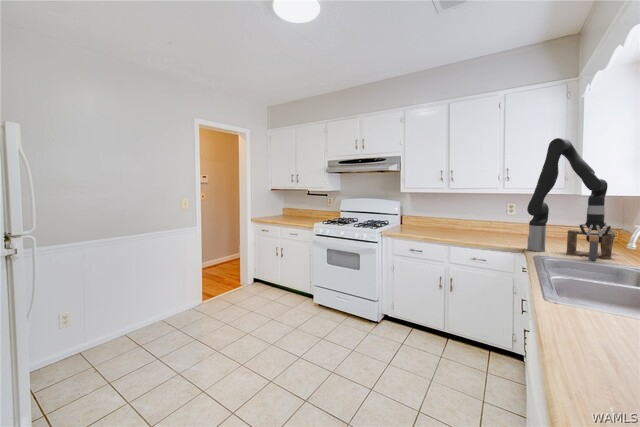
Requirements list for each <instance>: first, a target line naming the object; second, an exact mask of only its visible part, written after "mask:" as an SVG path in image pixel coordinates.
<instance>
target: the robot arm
mask: <svg viewBox="0 0 640 427" xmlns="http://www.w3.org/2000/svg"><path fill="white" fill-rule="evenodd" d="M561 156H563V157H564V158H565V159H566V160H567V161H568V162H569V164H570V167H571V168H572V170H573V171H574V173H575V174H576V175H577V176H578V177H579V178H580V179H581V181H582V183H583V185H585V188H586V189H588V190H589V191H591V193H590V196H588V199H587V208H586V220H585V221H586V222H585V223H582V224H579V228H580V231H582V233H583V234H584V235H585V236H586V237H585V238H586V239H585V240H586V241H587V243H590V241H589V236H590V233H591V232H592V231H594V232H598V233H599V242H598V244H600V242H602V237H603V236H606V235H607V234H608V232H609V230H611V228H612V226H611V225H608V224H606V225H605V213H606V209H605V204H606V203H605V201H606V200H605V198H606V195H607V192H608V187H609V186H608V182H607V181H606V180H605V179H602V178H598V177H597V175H596V173H595V170H594V169H593V168H592V167H591V165H589V164H588V163H587V162H586V161H585V160H584V159H583V157H582V156H581V155H580V154H579V153H578V151H577V149H576V147H575V146H574V145H573V143H572V142H571V140H570V139H567V138H564V137H563V138H562V137H561V138H560V137H558V138H557V137H555V138H554V139H552V140H551V141H550V142H549V143H548V148H547V151H546V157H545V159H544V164H543V166H542V169H541V172H540V174H539V176H538V177H539V178H538V180H537V183H536V186H535V188H534V191H533V194H532V197H531V199H530V200H529V203H528V204H527V213H528V214H529V215H530V216H533V217H532V219H531V220H529V222H528V225H529V226H528V236H527V251H533V252H545V251H546V236H547V232H546V231H547V222H548V221H549V213H550V211H549V210H550V209H549V206H548V203H546V202H544V200H545V198H546V197H547V195H548V194H549V193H550V191H551V190H553V188H554V186H555V185H556V182H557V180H558V177H559V161H560V158H561ZM604 227H605V229H607V230H606V231H605V233H604V234H602V230H603V229H604ZM585 228H587V229H588V230H587V231H586V230H585ZM586 232H587V233H586ZM584 235H583V236H584Z"/></svg>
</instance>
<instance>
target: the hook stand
mask: <svg viewBox="0 0 640 427" xmlns="http://www.w3.org/2000/svg"><path fill="white" fill-rule="evenodd" d="M585 232H586V233H587V232H588V231H585ZM604 233H605V232H603V233H602V234H604ZM578 235H583V236H584V234H583V233H582V231H581V230H576V229H575V230H573V229H568V230H567V240H566V242H567V243H566V253H565V255H567V256H576V257H583V256H585V258H589V251H581V250H577V249H578V248H577V243H578ZM590 235H594V236H599V233H598V231H591V233H590ZM612 236H613V233H608V234H607V235H606V236H603V237H602V253H601V252H598V255H597V259H602V260H611V259H612V257H613V256H612V254H613V253H612V251H613V246H612Z"/></svg>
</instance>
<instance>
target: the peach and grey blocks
mask: <svg viewBox="0 0 640 427" xmlns="http://www.w3.org/2000/svg"><path fill="white" fill-rule="evenodd" d="M589 241H590V242H589V246H588V247H589V251H588V252H589V257H588V261H591V260H593V261H592V262H596V261H597V260H598V258H597V255H598V253H599V243H598V242H599V236H595V235H590V236H589Z"/></svg>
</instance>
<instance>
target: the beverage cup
mask: <svg viewBox="0 0 640 427" xmlns="http://www.w3.org/2000/svg"><path fill="white" fill-rule="evenodd" d="M604 223H605V225H607V221H606V222H605V221H604ZM606 230H607V229H604V228H603V229H601V231H602V233H603V232H605V231H606ZM608 233H613V236H612V247H613V245H614V240H615V237H616V235H615V232H614V231H613V230H612V229H610V230H609V232H608ZM599 244H600V253H602V242H600V243H599Z"/></svg>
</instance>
